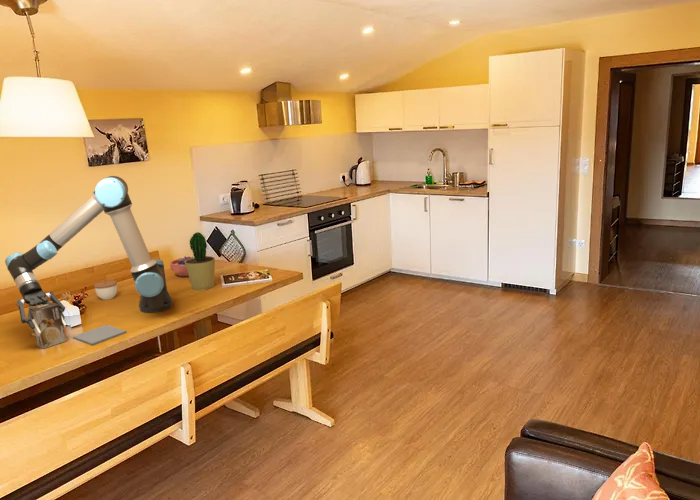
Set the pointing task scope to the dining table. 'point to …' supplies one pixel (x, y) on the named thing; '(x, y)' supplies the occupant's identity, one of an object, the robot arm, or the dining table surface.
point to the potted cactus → (200, 264)
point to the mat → (99, 334)
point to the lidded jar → (106, 289)
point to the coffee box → (48, 324)
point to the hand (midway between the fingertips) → (52, 330)
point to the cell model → (179, 266)
